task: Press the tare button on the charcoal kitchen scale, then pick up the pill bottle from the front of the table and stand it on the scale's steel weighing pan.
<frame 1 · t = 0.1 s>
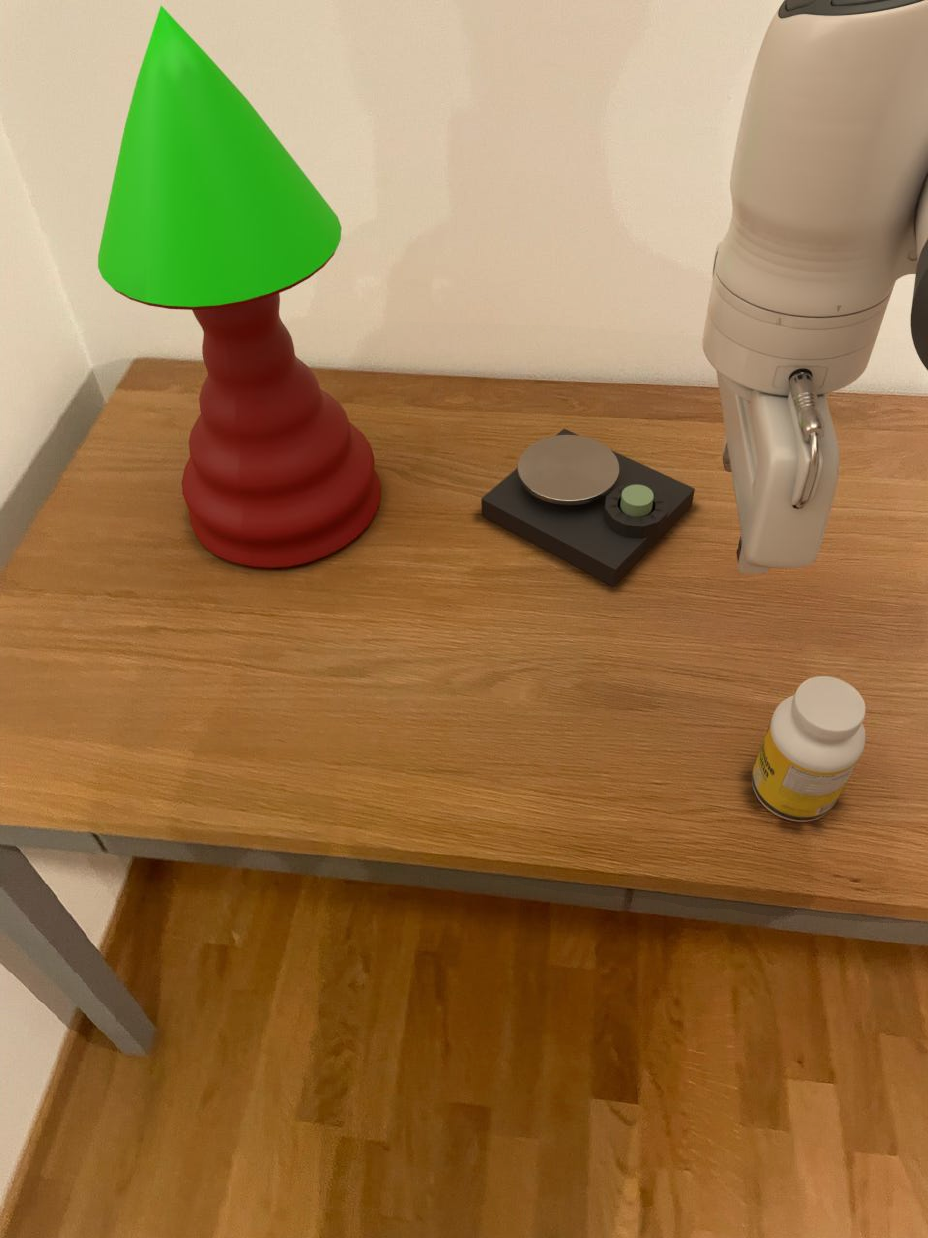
hand: (742, 513, 60), 23 cm above the table, tool pointing down, fingers open, 8 cm apart
scale: (586, 511, 94), on the table
pill bottle: (791, 789, 72), on the table
table lamp: (287, 504, 97), on the table
scale pan: (568, 471, 92), resting on scale
tare button: (636, 500, 88), point 4 cm above the table, slide at 0.2 cm
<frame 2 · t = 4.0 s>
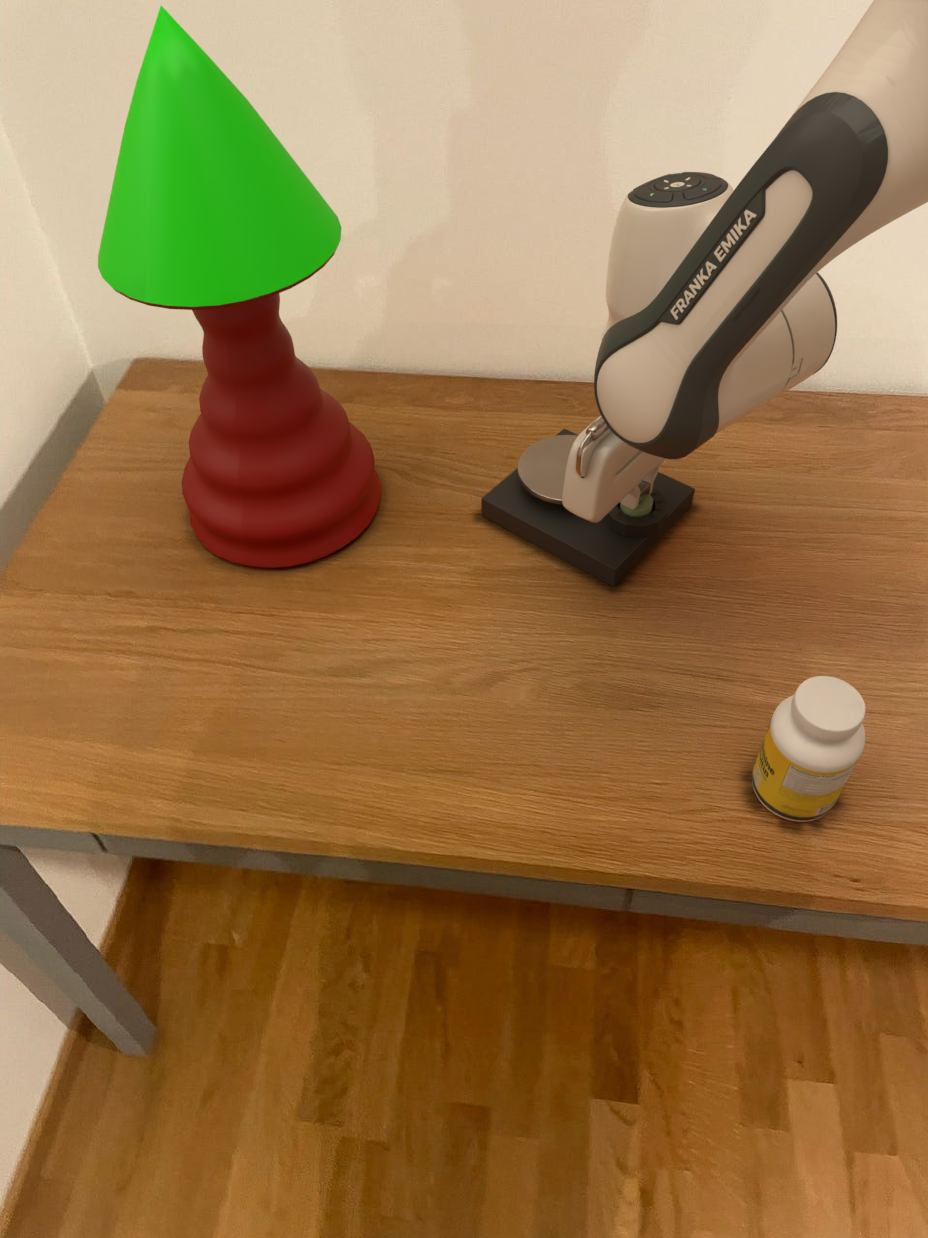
hand: (635, 498, 88), 5 cm above the table, tool pointing down, fingers closed, pressing on tare button
tare button: (636, 505, 88), point 4 cm above the table, slide at -0.5 cm, touching gripper
everything else where it was.
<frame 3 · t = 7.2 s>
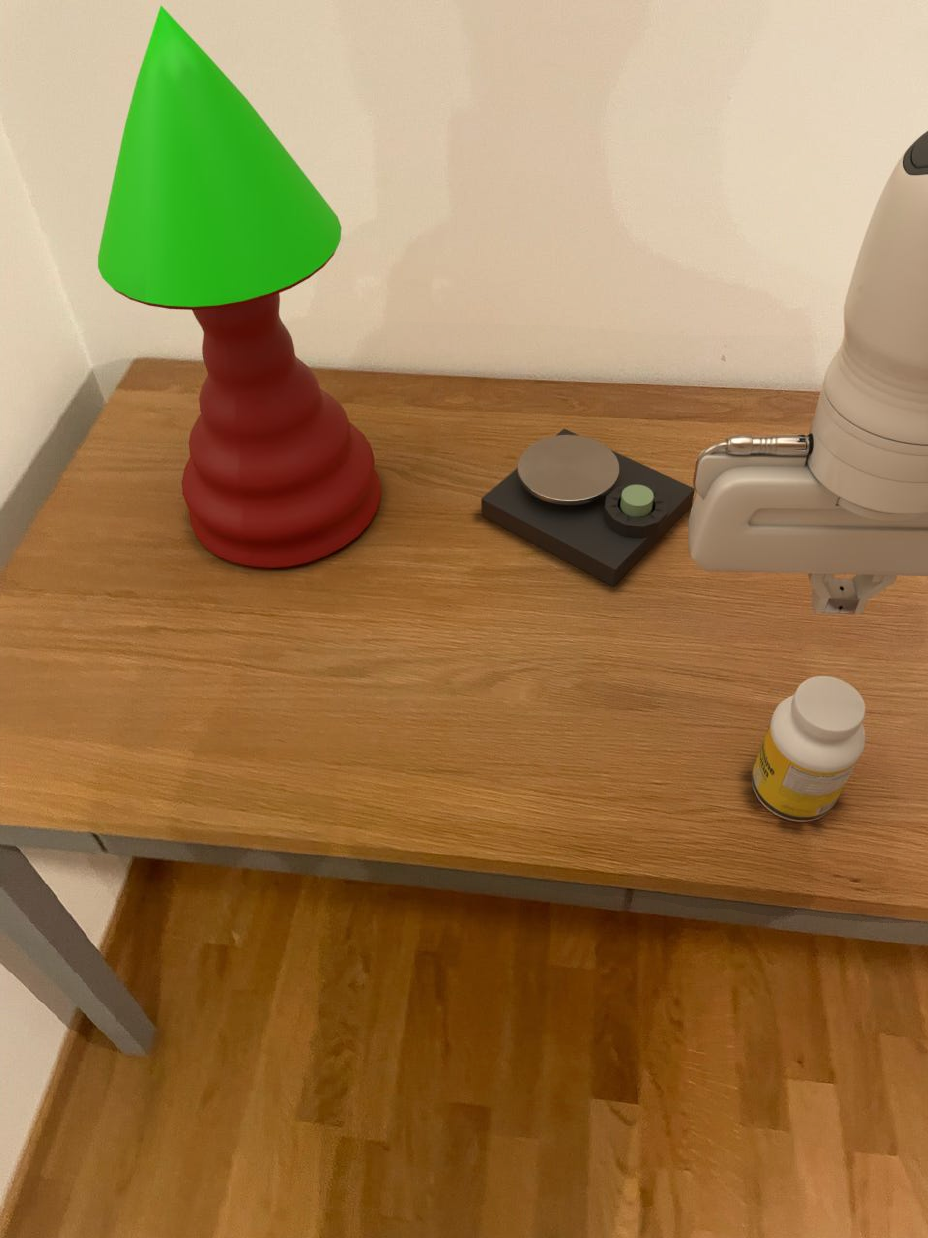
hand: (835, 606, 61), 18 cm above the table, tool pointing down, fingers closed
tare button: (636, 500, 88), point 4 cm above the table, slide at 0.1 cm
everything else where it was.
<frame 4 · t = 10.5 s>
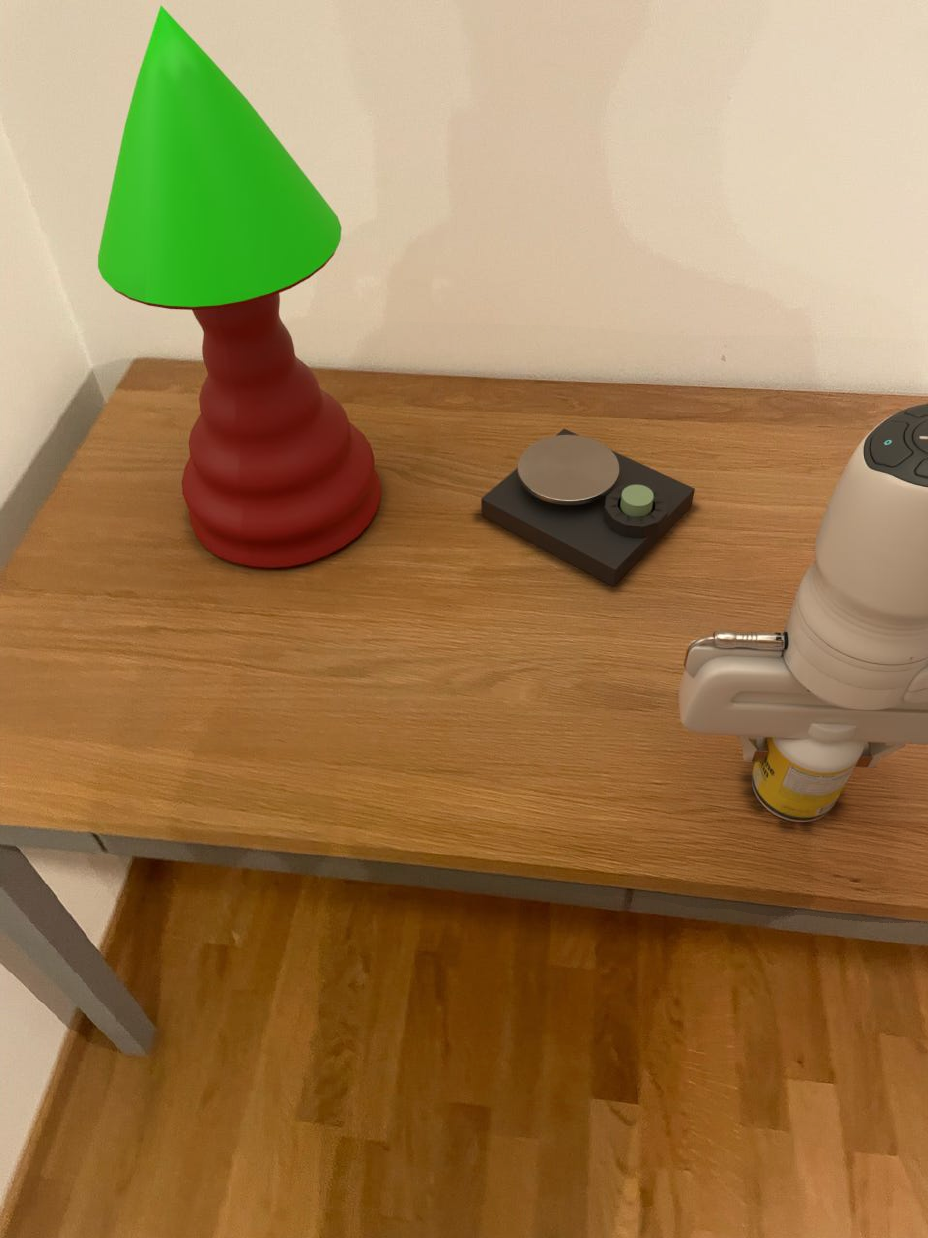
hand: (806, 756, 69), 5 cm above the table, tool pointing down, fingers closed on pill bottle, 6 cm apart
pill bottle: (791, 790, 72), on the table, touching gripper
everything else where it was.
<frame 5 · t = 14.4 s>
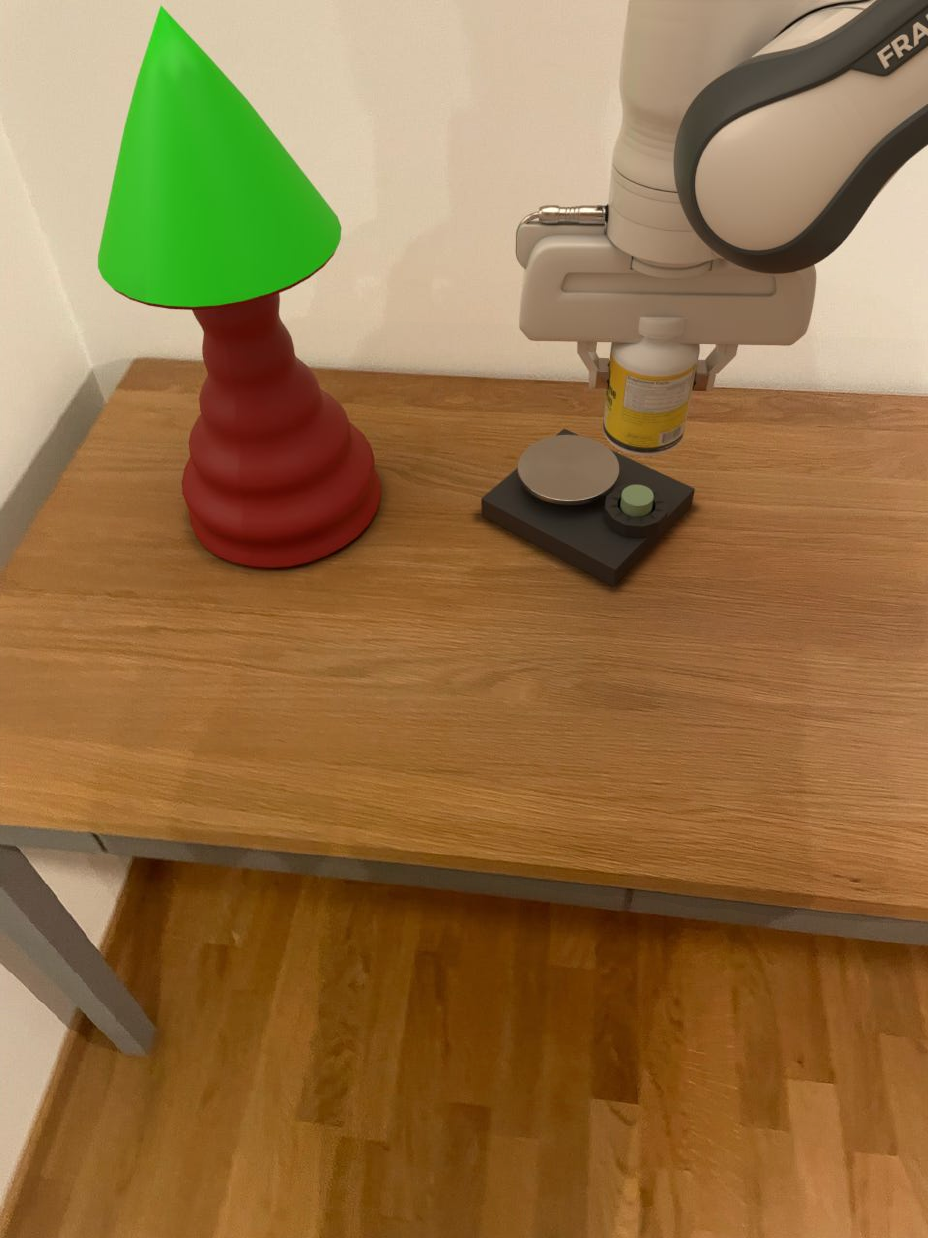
hand: (650, 385, 71), 22 cm above the table, tool pointing down, fingers closed on pill bottle, 6 cm apart
pill bottle: (642, 436, 74), point 17 cm above the table, touching gripper
everything else where it was.
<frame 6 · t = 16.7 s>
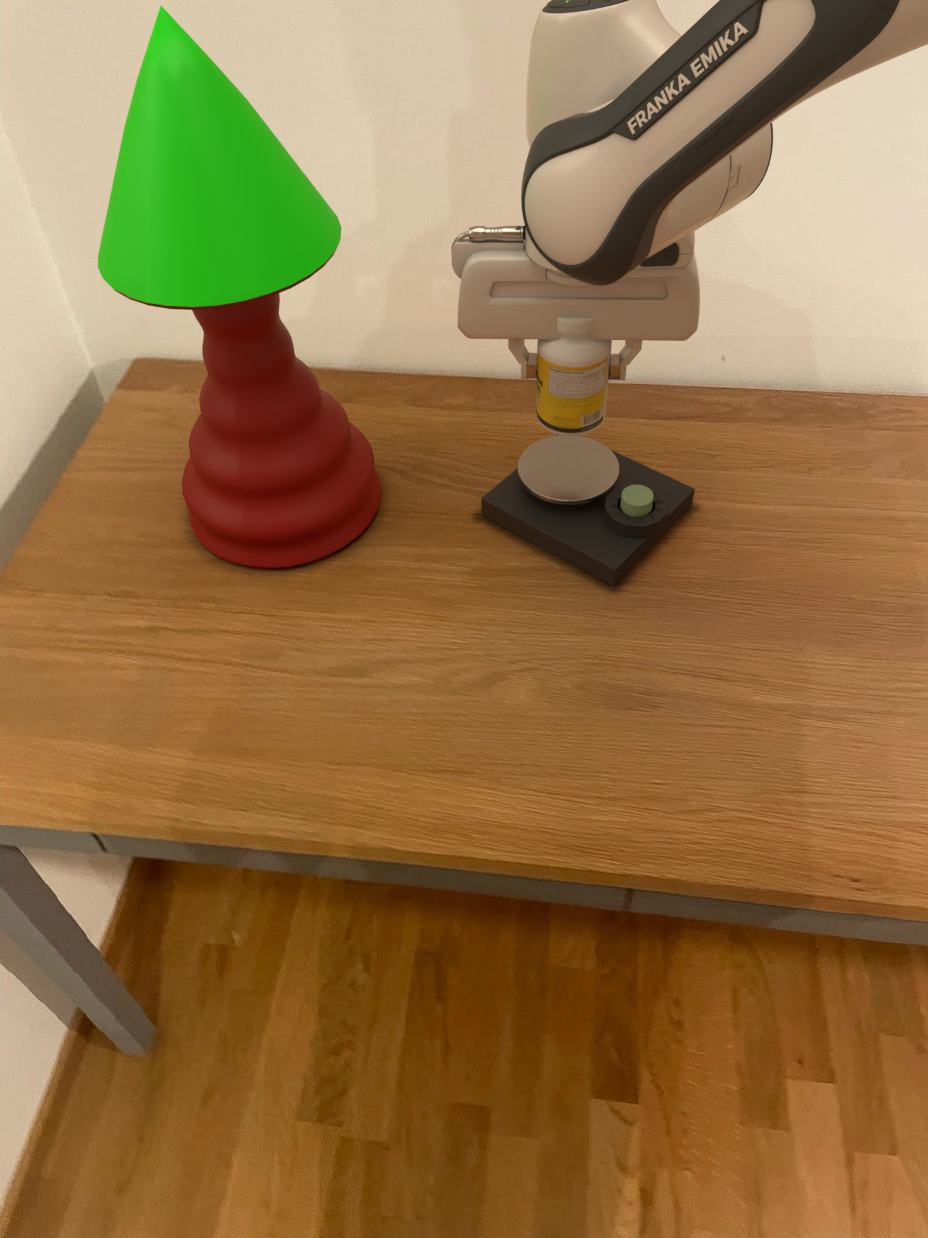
hand: (573, 376, 83), 15 cm above the table, tool pointing down, fingers closed on pill bottle, 6 cm apart
pill bottle: (570, 419, 87), point 10 cm above the table, touching gripper
everything else where it was.
when the fingers open (9 cm above the table, at t = 18.7 s): pill bottle stays where it is, resting on scale pan.
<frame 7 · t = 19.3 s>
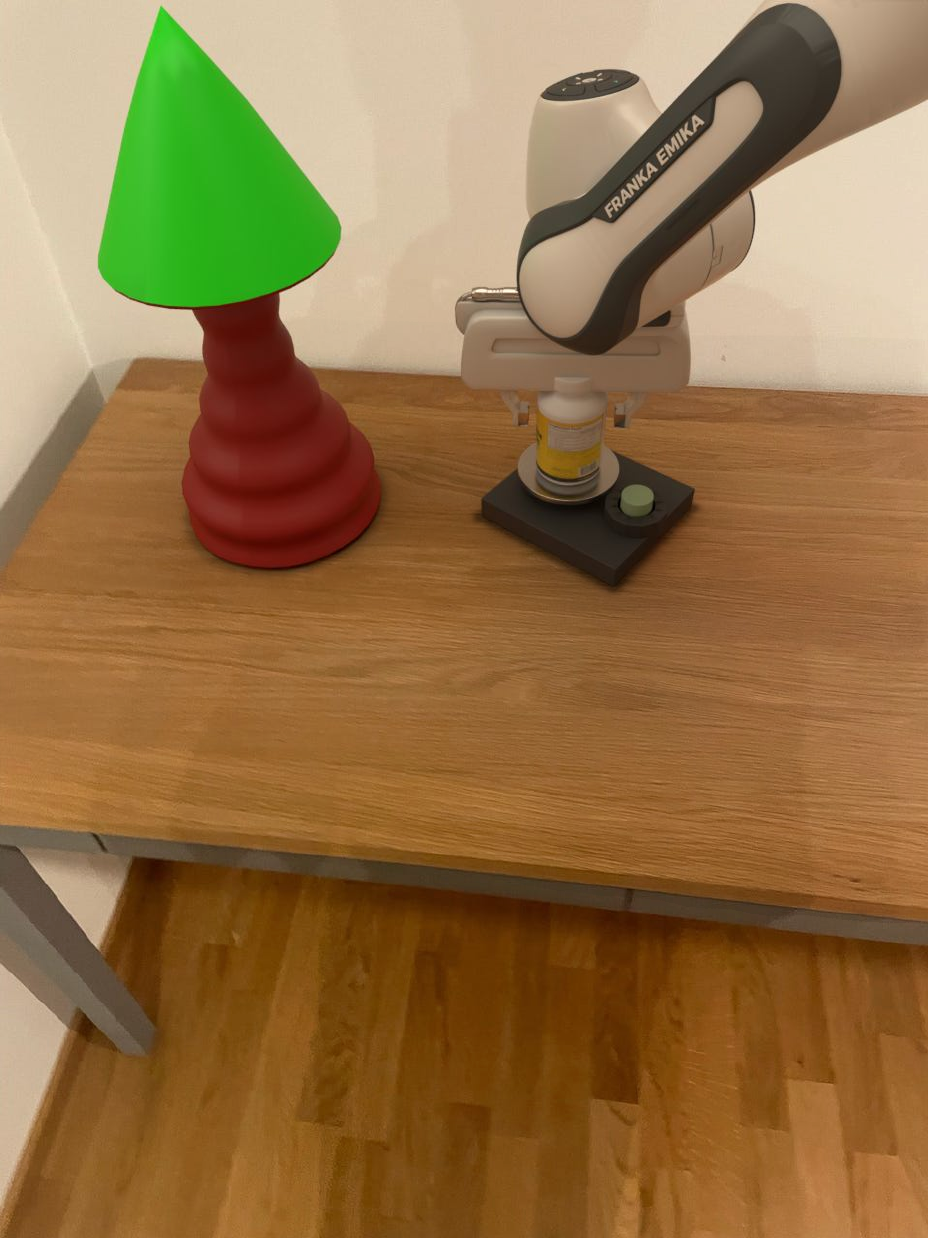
hand: (571, 423, 87), 10 cm above the table, tool pointing down, fingers open, 8 cm apart
pill bottle: (568, 468, 91), point 4 cm above the table, touching scale pan
everything else where it was.
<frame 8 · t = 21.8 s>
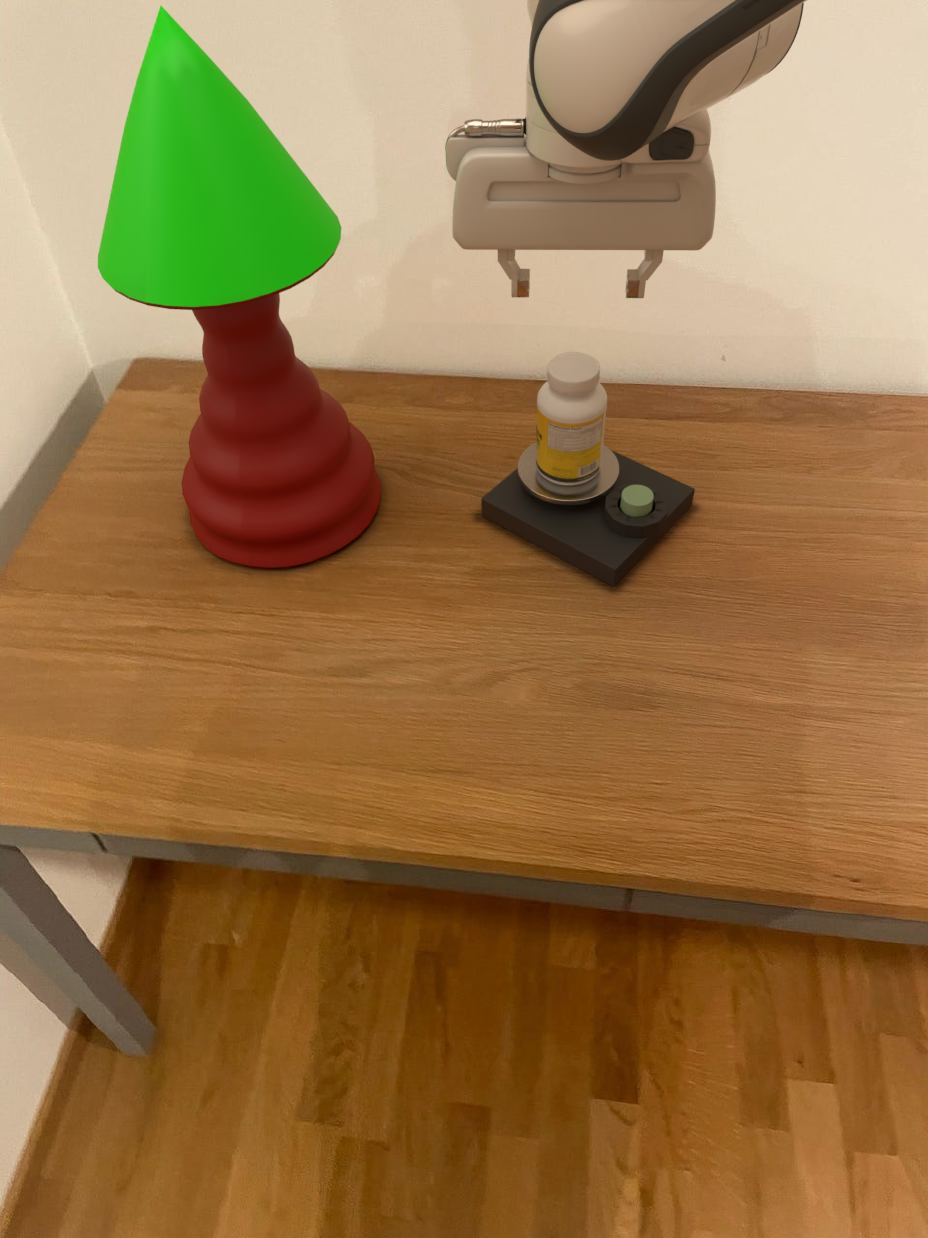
hand: (577, 294, 77), 23 cm above the table, tool pointing down, fingers open, 8 cm apart
nothing on the table moved.
at the end: tare button pushed in 0.9 cm at the most during the clip, back to where it started at the end; pill bottle 0.1 cm off-centre on the scale pan, point 0.4 cm above the scale pan's base; pill bottle tilted 0° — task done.
